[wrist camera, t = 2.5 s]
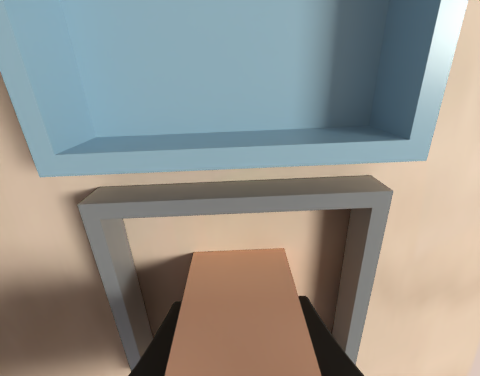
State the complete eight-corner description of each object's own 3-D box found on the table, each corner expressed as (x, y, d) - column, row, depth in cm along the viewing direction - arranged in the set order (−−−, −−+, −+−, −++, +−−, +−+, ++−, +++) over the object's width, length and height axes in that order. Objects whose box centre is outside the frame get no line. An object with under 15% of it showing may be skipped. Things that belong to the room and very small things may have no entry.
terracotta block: (202, 317, 13) (178, 497, 7) (193, 252, 11) (154, 418, 6) (281, 313, 13) (317, 490, 7) (283, 248, 11) (332, 410, 6)
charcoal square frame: (148, 363, 14) (138, 394, 13) (99, 187, 10) (77, 204, 9) (339, 354, 14) (351, 384, 13) (371, 175, 10) (393, 190, 9)
